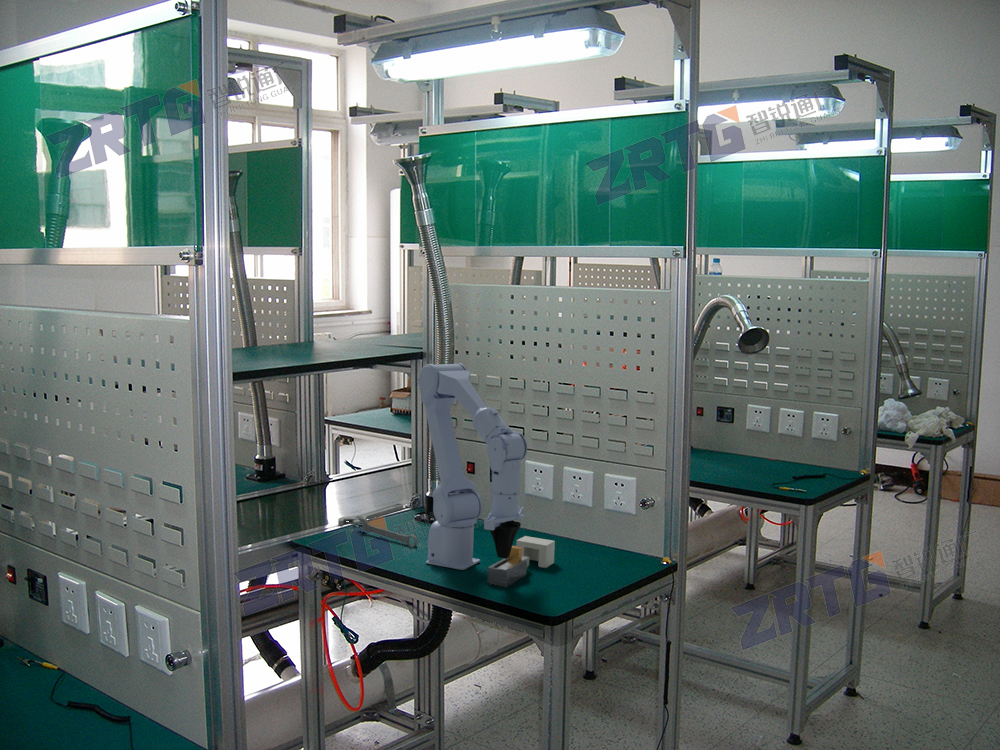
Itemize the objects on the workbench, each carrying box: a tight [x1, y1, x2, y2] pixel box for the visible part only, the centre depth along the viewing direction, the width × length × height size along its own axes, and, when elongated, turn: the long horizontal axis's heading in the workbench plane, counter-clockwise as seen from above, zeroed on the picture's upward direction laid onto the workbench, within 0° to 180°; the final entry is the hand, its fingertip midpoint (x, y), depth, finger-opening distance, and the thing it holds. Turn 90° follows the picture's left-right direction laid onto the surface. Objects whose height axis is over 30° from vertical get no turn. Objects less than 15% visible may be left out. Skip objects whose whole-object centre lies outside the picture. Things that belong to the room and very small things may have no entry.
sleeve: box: [486, 558, 528, 588], centre depth 191 cm, size 4×10×3 cm, turn 154°
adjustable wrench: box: [337, 503, 404, 527], centre depth 239 cm, size 25×6×2 cm, turn 147°
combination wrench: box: [355, 518, 419, 548], centre depth 219 cm, size 4×1×20 cm
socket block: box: [515, 535, 556, 569], centre depth 203 cm, size 7×4×5 cm, turn 64°
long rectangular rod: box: [498, 545, 530, 570], centre depth 193 cm, size 2×12×5 cm, turn 153°
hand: (503, 557), depth 188 cm, fingers closed
